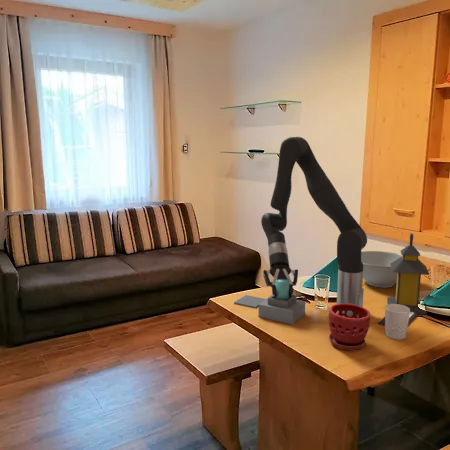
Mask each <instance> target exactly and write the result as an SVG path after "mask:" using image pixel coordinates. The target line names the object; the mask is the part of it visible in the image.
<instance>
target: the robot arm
mask: <svg viewBox="0 0 450 450" xmlns="http://www.w3.org/2000/svg"><path fill="white" fill-rule="evenodd" d="M277 164H278V165H277V166H278V167H277V172H276V173H277V174H276V178H275V179H276V180H275V184H274V187H273V188H274V189H273V192H272V195H271V200H270V207H271V208H272V209H274V210H277V211H278V213H275V212H274V213H273V212H266V213H264V214H263V215H262V217H261V221H260V223H261V227H262V229H263V232H264V234H265V237H266V239H267V246H268V259H269V260H268V261H269V270H266V269H263V272H262V277H263V278H264V281H265V285H266V287H271V294H272V295H274V296H277V291H276V279H279V278H285V279H289V296H292V295H294V287H295V286H297V283H298V276H299V269H297V268H296V269H292V268H291V267H290V261H289V253H288V248H287V244H286V238H285V237H286V236H285V233H283V231H284V230H285V229H286V227H287V226H288V225H287V224H288V206H289V201H290V197H291V194H292V175H293V171H294V170H293V169H294V167H295V164H297V165H298V167H299V168H300V169H301V171H302V172H303V173H302V174H303V175H304V178H305V182H306V187H307V190H308V193H309V195H310V197H311V198H312V200H313V202H314V203H315V204H316V206H317V207H318V209H320V211H321V212H322V213H324V214H325V215H326V216H327V217H328V218H329V219H330V220H332V221H333V223H334V224H335V226H336V227H337V229H338V230H339V232H340V234H339V235H338V237H337V241H336V263H337V265H338V266H337V268H338V269H337V270H338V271H337V285H336V286H337V291H336V304H354V305H358V306H361V307H363V306H364V292H365V291H364V290H365V289H364V288H363V281H364V279H363V263H362V262H361V252H362V250H363V249H365V247H366V246H367V243H368V238H367V233H366V232H365V230H364V229H363V228H362V227H361V225H360V224H359V223H358V222H357V220H356V219H355V218H354V217H353V215H352V214H351V212H350V210H349V209H348V207H347V206H346V204H345V203H344V201H343V199H342V197H341V196H340V194H339V193H338V190H337V189H336V188H335V186H334V185H333V183H332V182H331V180H330V178H329V177H328V176H327V174H326V173H325V170H324V169H323V168H322V167H321V165H320V164H319V162H318V160H317V158H316V156H315V154H314V152H313V150H312V148H311V146H310V144H309V142H308V141H307V140H306V139H305V138H303V137H301V136H290V137H287V138H285V139H284V140H282V142H281V144H280V148H279V156H278V163H277ZM290 274H291V276H293V278H292V279H293V280H292V279H291V277H290ZM269 276H272V277H273V279H272V281H271V280H270V277H269ZM363 308H364V307H363ZM338 313H339V311H337V312H336V314H338ZM342 313H345V311H342ZM347 315H348V316H350V317H351V316H352V315H353V312H352V311H347ZM356 316H357V317H359V315H358V314H357V315H356Z"/></svg>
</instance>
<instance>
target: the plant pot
mask: <svg viewBox="0 0 450 450" xmlns="http://www.w3.org/2000/svg"><path fill="white" fill-rule="evenodd" d="M337 311H339V313H337ZM342 311H345V313H342ZM347 311H352V312H353V315H352V316H348V315H347ZM357 314H358V315H359V316H358V317H357V316H356V315H357ZM370 324H371V312H370V311H369V310H368V309H367V308H365V307H361V306H358V305H354V304H337V303H336V304H333V305H331V306H330V307H329V311H328V326H329V331H330V334H329V336H328V340H329V341H330V343H331V344H332V345H333V346H335V347H336V348H338V349H342V350H348V351H353V350H356V351H357V350H359V349H361V348H363V347H365V344H366V340H365V339H366V337H367V335H368V332H369V328H370Z"/></svg>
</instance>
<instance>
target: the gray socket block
mask: <svg viewBox="0 0 450 450" xmlns="http://www.w3.org/2000/svg"><path fill="white" fill-rule="evenodd" d="M265 299H266V300H264V301H263V302H261V303H260V304H259V306H258V318H262V319H267V320H271V321H276V322H280V323H284V324H288V325H294V324H295V323H296V322H297V321H298V320H300V319H301V318H302V317H303V316H304V315H305V314H306V301H304V300H300V299H297V295H296V294H292V296H289V299H288V300H287V301H285V300H280V299H275V296H274V295H273V294H272V295H270V296H268V297H267V298H265Z"/></svg>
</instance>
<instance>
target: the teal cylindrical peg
mask: <svg viewBox="0 0 450 450" xmlns="http://www.w3.org/2000/svg"><path fill="white" fill-rule="evenodd" d="M275 285H276V291H277V296H275V299H280V300H285V301H287V300H288V299H289V279H285V278H279V279H276V283H275Z"/></svg>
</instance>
